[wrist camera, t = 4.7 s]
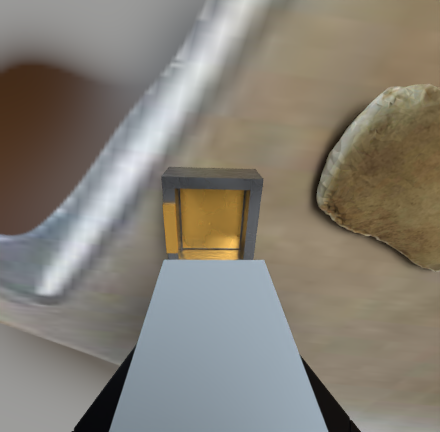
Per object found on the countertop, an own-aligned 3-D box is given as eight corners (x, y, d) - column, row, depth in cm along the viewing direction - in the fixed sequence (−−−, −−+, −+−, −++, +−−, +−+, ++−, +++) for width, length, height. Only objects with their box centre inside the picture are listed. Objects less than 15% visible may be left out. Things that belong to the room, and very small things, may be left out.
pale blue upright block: (251, 340, 11) (294, 571, 5) (171, 341, 10) (130, 584, 5) (264, 259, 9) (357, 509, 3) (163, 259, 8) (78, 526, 3)
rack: (246, 251, 20) (252, 272, 17) (174, 250, 20) (168, 272, 17) (255, 169, 17) (264, 180, 14) (168, 167, 16) (160, 177, 14)
